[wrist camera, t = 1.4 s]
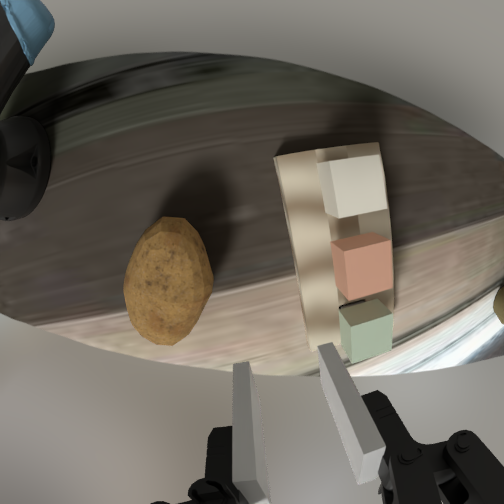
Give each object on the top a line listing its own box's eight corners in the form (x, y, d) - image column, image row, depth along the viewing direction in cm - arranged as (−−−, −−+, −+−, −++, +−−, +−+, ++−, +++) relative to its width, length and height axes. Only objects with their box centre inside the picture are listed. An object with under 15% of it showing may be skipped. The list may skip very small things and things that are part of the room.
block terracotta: (324, 237, 30) (343, 251, 24) (364, 228, 30) (390, 240, 24) (329, 278, 31) (348, 300, 25) (368, 268, 31) (392, 287, 25)
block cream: (310, 164, 28) (329, 161, 22) (353, 157, 28) (379, 154, 22) (319, 210, 29) (338, 218, 23) (360, 202, 29) (387, 208, 23)
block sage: (332, 301, 32) (350, 326, 26) (369, 291, 32) (393, 313, 26) (335, 335, 33) (352, 363, 27) (370, 325, 33) (391, 350, 27)
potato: (228, 220, 31) (225, 234, 24) (203, 327, 35) (196, 364, 27) (147, 201, 30) (120, 209, 23) (132, 308, 34) (109, 340, 26)
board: (273, 157, 30) (276, 156, 27) (369, 144, 30) (378, 142, 27) (306, 342, 36) (310, 352, 34) (385, 319, 36) (393, 327, 33)
